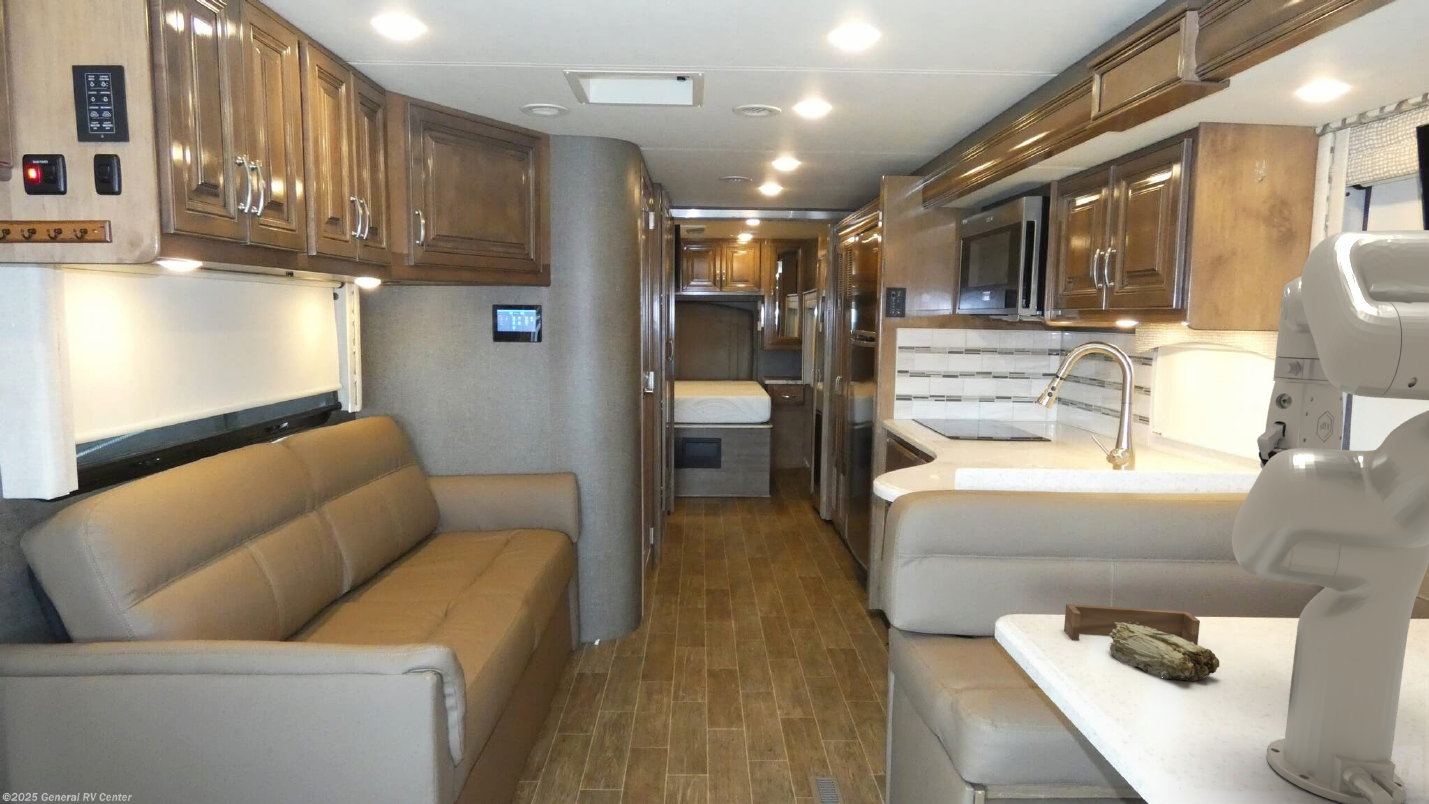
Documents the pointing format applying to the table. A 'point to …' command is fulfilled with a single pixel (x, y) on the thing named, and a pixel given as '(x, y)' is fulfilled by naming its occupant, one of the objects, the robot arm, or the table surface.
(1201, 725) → the table surface
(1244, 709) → the table surface
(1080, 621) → the stand
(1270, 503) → the robot arm
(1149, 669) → the beige fibrous lump
